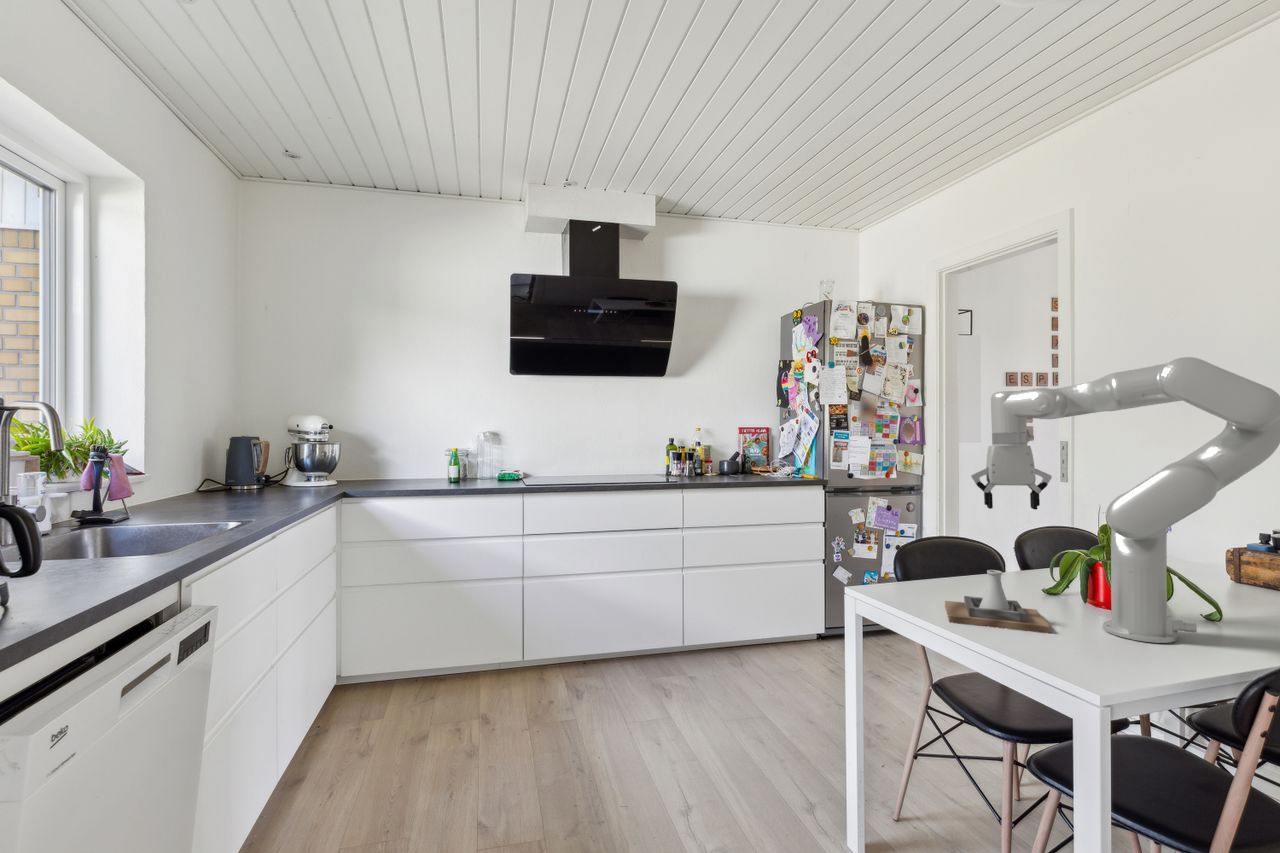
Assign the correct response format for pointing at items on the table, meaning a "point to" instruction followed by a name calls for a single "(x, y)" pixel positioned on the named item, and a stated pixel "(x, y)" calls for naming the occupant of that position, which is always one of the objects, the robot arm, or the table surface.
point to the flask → (994, 593)
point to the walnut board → (995, 615)
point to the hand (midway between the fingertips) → (1011, 508)
